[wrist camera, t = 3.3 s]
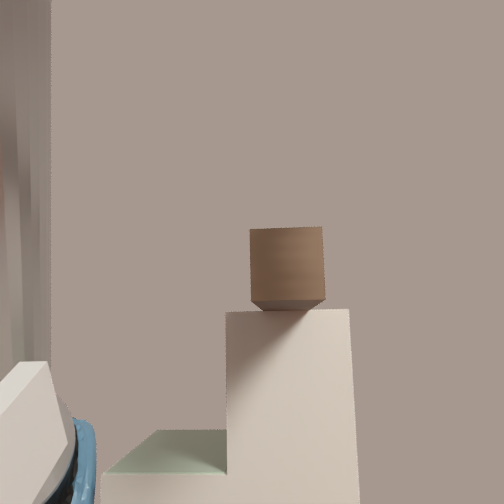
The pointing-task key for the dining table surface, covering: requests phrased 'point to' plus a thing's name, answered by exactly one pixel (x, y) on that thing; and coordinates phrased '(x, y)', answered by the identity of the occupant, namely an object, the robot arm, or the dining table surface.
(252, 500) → the step stand
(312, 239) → the walnut bar
